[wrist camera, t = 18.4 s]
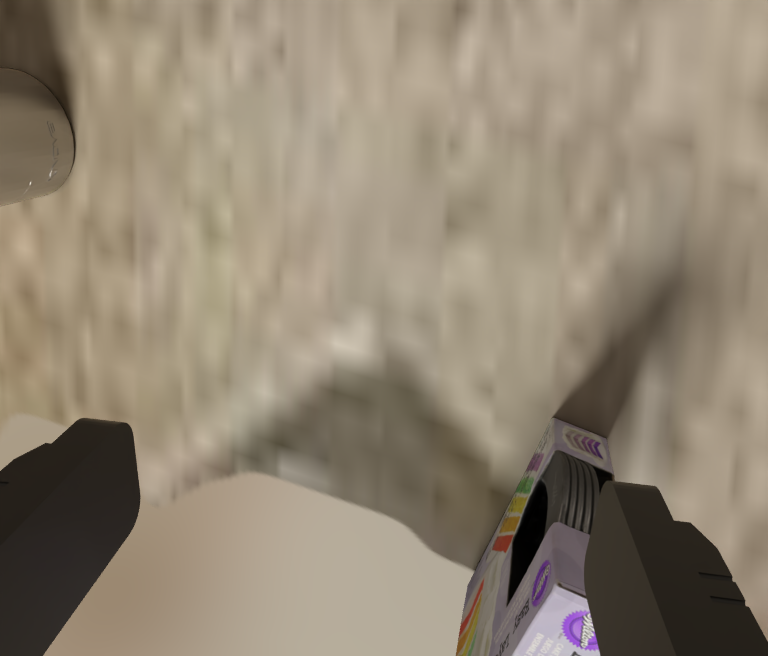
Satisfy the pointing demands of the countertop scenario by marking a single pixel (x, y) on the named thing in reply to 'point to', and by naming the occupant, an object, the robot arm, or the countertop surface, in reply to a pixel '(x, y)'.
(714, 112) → the countertop surface
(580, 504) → the cake pan box
